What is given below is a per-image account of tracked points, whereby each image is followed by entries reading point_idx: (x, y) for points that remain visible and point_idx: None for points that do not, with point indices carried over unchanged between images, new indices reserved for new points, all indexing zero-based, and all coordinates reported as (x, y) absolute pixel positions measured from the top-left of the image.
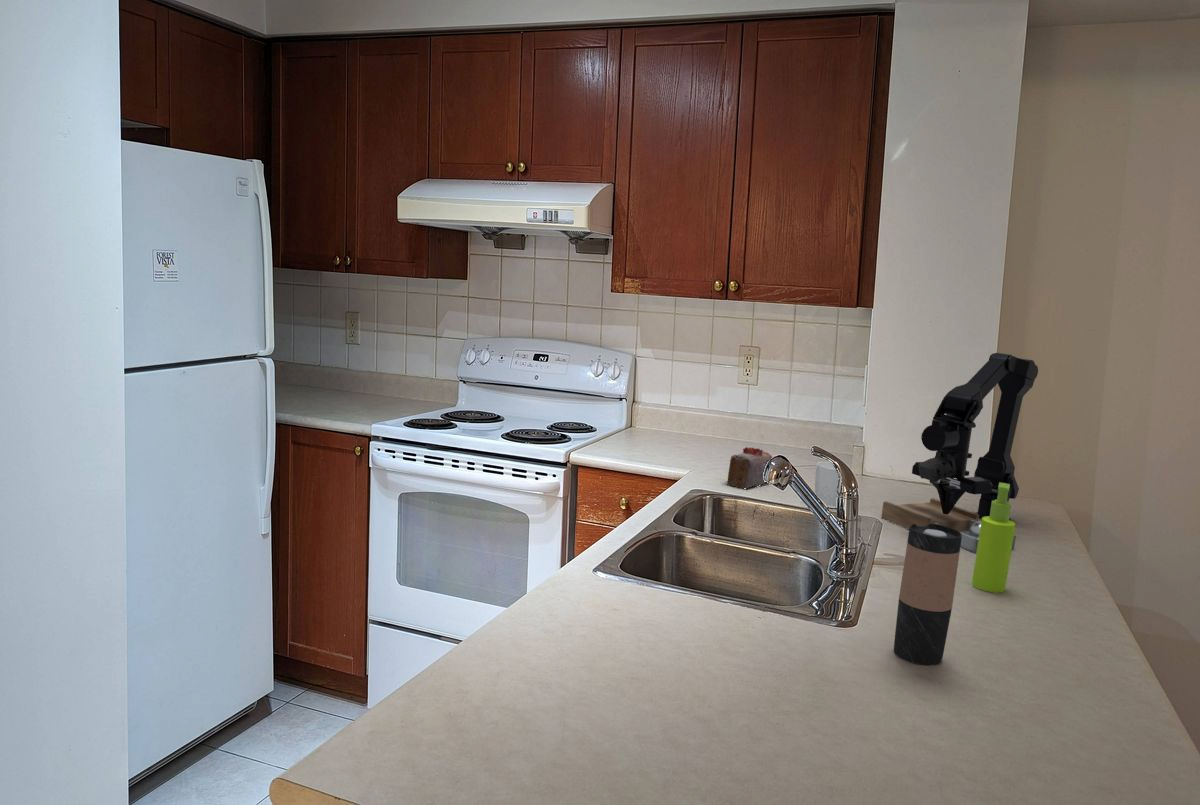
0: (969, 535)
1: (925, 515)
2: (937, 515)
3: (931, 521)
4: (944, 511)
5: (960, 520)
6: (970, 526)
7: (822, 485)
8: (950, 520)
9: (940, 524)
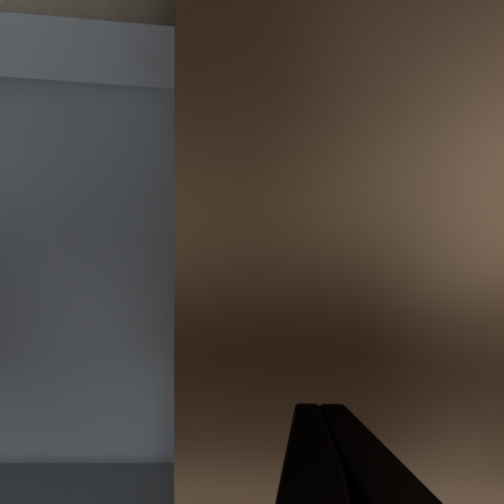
0: (76, 387)
1: (479, 225)
2: (407, 375)
3: (244, 52)
4: (317, 420)
5: (179, 468)
6: (162, 499)
7: None
8: (207, 369)
9: (76, 66)
